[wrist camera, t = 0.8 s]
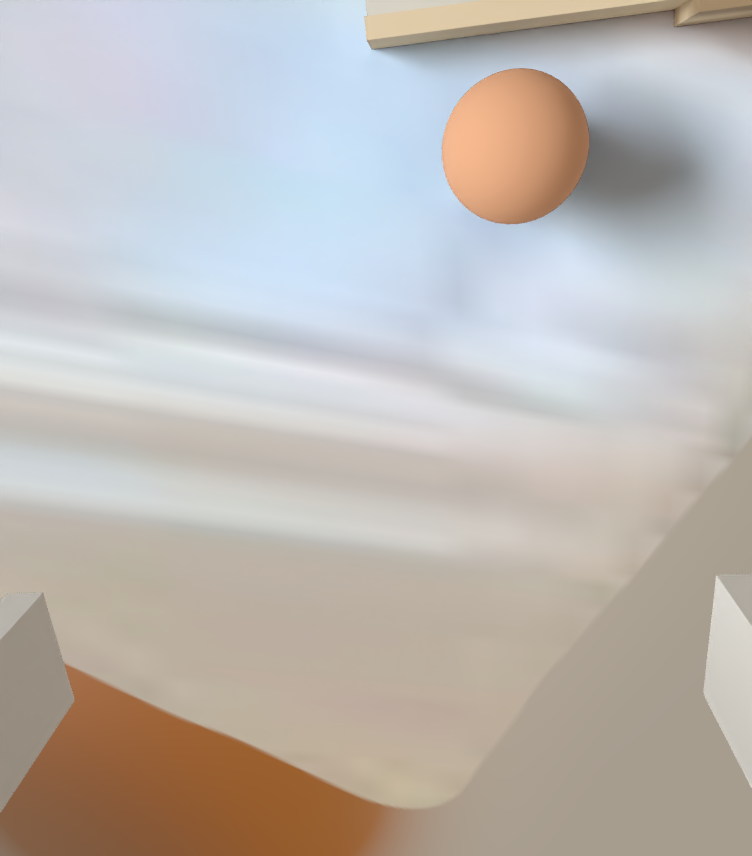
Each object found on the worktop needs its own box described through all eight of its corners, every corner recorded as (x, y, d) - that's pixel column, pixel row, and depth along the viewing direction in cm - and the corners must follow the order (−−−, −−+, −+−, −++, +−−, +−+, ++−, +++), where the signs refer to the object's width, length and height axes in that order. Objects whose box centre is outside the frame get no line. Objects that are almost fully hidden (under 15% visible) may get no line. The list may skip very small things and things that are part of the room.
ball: (436, 86, 26) (437, 69, 21) (573, 69, 25) (605, 47, 21) (445, 225, 27) (448, 237, 23) (574, 212, 27) (603, 221, 22)
